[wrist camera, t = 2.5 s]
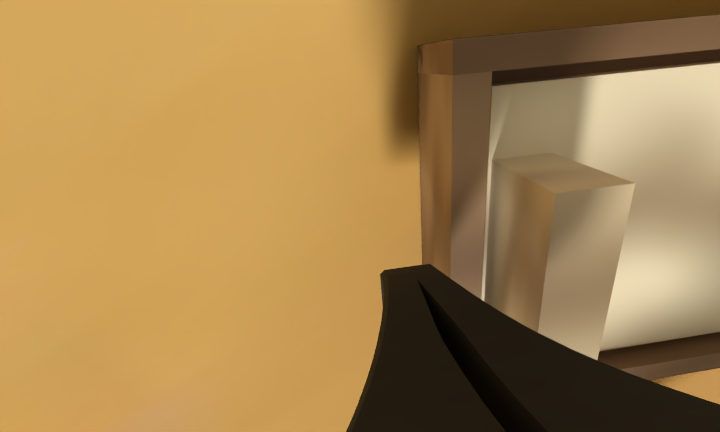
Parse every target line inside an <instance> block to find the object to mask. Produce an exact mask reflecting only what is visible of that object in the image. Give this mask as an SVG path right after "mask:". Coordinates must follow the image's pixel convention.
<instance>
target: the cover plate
mask: <svg viewBox="0 0 720 432" xmlns="http://www.w3.org/2000/svg"><path fill="white" fill-rule="evenodd" d="M481 300H483V301H484V302H486V303H487V304H489V305H491V306H492V307H494V308H495V309H497V310H499V311H500V312H502V313H504V314H505V315H507V316H509V317H511V318H512V319H514V320H516V321H517V322H519V323H521V324H523V325H524V326H526V327H528V328H530V329H532V330H534V331H536V332H538V333H540V334H542V335H544V336H546V337H548V338H550V339H552V340H554V341H556V342H558V343H560V344H562V345H564V346H566V347H568V348H570V349H572V350H575V351H577V352H579V353H581V354H584V355H586V356H588V357H591V358H593V359H595V360H598V355H599V351H605V350H611V349H617V348H624V347H630V346H636V345H642V344H648V343H654V342H660V341H667V340H673V339H679V338H685V337H691V336H697V335H703V334H709V333H716V332H720V60H719V61H709V62H699V63H689V64H679V65H669V66H660V67H650V68H640V69H630V70H620V71H611V72H601V73H591V74H581V75H571V76H562V77H552V78H542V79H532V80H522V81H513V82H503V83H493V84H492V86H491V106H490V126H489V146H488V167H487V187H486V207H485V227H484V247H483V268H482V288H481Z"/></svg>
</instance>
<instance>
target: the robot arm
mask: <svg viewBox="0 0 720 432" xmlns="http://www.w3.org/2000/svg"><path fill="white" fill-rule="evenodd" d="M380 277H381V290H382V302H383V312H382V321H381V326H380V331H379V336H378V341H377V346H376V350H375V354H374V358H373V361H372V365H371V368H370V371H369V374H368V378H367V381H366V383H365V386H364V389H363V392H362V394H361V397H360V400H359V403H358V405H357V408H356V410H355V413H354V415H353V417H352V420H351V422H350V424H349V427H348V429H347V431H346V432H720V405H719V404H716V403H713V402H710V401H707V400H704V399H701V398H698V397H695V396H692V395H689V394H686V393H683V392H680V391H677V390H674V389H671V388H668V387H665V386H662V385H660V384H657V383H654V382H651V381H649V380H646V379H643V378H641V377H638V376H635V375H632V374H630V373H627V372H625V371H622V370H620V369H617V368H615V367H613V366H610V365H608V364H605V363H603V362H600V361H598V360H595V359H593V358H591V357H588V356H586V355H584V354H581V353H579V352H577V351H575V350H572V349H570V348H568V347H566V346H564V345H562V344H560V343H558V342H556V341H554V340H552V339H550V338H548V337H546V336H544V335H542V334H540V333H538V332H536V331H534V330H532V329H530V328H528V327H526V326H524V325H523V324H521V323H519V322H517V321H516V320H514V319H512V318H511V317H509V316H507V315H505V314H504V313H502V312H500V311H499V310H497V309H495V308H494V307H492V306H491V305H489V304H487V303H486V302H484V301H483V300H481V299H480V298H478V297H477V296H475V295H474V294H472V293H471V292H469V291H468V290H466V289H465V288H463V287H462V286H461V285H459V284H458V283H456V282H455V281H453V280H452V279H451V278H449V277H448V276H446V275H445V274H444V273H442V272H441V271H439V270H438V269H437V268H435V267H434V266H432V265H431V264H425V265H417V266H410V267H403V268H396V269H389V270H384V271H383V272H382V273H381V274H380Z"/></svg>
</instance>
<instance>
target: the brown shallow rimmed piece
mask: <svg viewBox="0 0 720 432" xmlns="http://www.w3.org/2000/svg"><path fill="white" fill-rule="evenodd" d="M417 58H418V100H419V142H420V184H421V225H422V265H425V264H431V265H432V266H434V267H435V268H437V269H438V270H439V271H441V272H442V273H444V274H445V275H446V276H448V277H449V278H451V279H452V280H453V281H455V282H456V283H458V284H459V285H461V286H462V287H463V288H465V289H466V290H468V291H469V292H471V293H472V294H474V295H475V296H477V297H478V298H480V299H481V288H482V268H483V247H484V227H485V207H486V187H487V167H488V146H489V126H490V106H491V86H492V84H493V83H503V82H513V81H522V80H532V79H542V78H552V77H562V76H571V75H581V74H591V73H601V72H611V71H620V70H630V69H640V68H650V67H660V66H669V65H679V64H689V63H699V62H709V61H719V60H720V15H709V16H699V17H688V18H677V19H666V20H655V21H644V22H633V23H622V24H611V25H600V26H589V27H578V28H568V29H557V30H546V31H535V32H524V33H513V34H502V35H491V36H480V37H469V38H458V39H450V40H445V41H440V42H435V43H430V44H424V45H419V46H417ZM598 361H600V362H603V363H605V364H608V365H610V366H613V367H615V368H617V369H620V370H622V371H625V372H627V373H630V374H632V375H635V376H638V377H641V378H643V379H646V380H652V379H658V378H664V377H669V376H675V375H681V374H687V373H693V372H699V371H704V370H710V369H716V368H720V332H716V333H709V334H703V335H697V336H691V337H685V338H679V339H673V340H667V341H660V342H654V343H648V344H642V345H636V346H630V347H624V348H617V349H611V350H605V351H599V355H598Z"/></svg>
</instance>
